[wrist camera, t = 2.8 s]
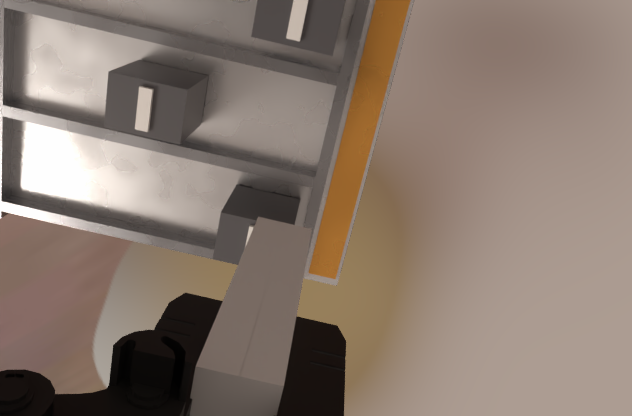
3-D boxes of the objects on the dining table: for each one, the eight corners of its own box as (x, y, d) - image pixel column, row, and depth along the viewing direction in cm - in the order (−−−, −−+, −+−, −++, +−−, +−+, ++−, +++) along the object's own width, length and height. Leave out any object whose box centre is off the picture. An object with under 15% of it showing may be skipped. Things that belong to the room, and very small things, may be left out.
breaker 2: (236, 184, 32) (219, 213, 28) (300, 199, 32) (292, 230, 28) (228, 226, 33) (211, 260, 29) (290, 241, 33) (282, 276, 29)
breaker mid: (139, 59, 30) (106, 72, 26) (208, 75, 30) (186, 90, 26) (134, 108, 31) (102, 127, 27) (201, 124, 31) (178, 145, 27)
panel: (-21, -149, 28) (-54, -160, 26) (422, -41, 28) (428, -43, 26) (-20, 191, 35) (-47, 207, 32) (337, 273, 35) (336, 294, 33)
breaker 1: (274, -27, 28) (261, -27, 24) (347, -9, 28) (346, -7, 24) (264, 28, 29) (250, 37, 25) (335, 45, 29) (332, 56, 25)
